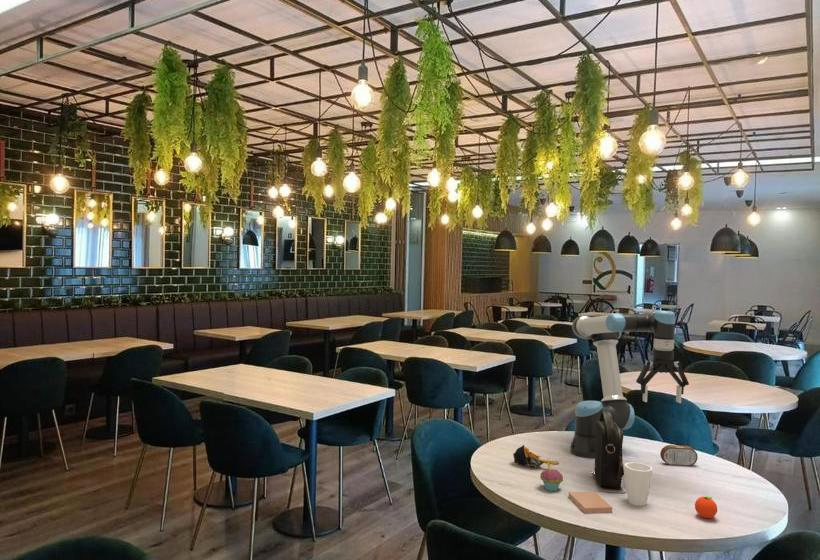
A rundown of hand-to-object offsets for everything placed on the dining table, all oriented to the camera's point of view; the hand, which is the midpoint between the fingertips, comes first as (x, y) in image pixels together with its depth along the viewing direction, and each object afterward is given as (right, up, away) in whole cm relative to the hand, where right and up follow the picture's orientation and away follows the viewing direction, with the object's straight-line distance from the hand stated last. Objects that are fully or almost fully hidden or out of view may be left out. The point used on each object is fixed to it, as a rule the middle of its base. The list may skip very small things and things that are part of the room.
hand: (661, 401), depth 230 cm
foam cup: (-19, -32, -22) cm, 43 cm away
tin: (+16, -32, +19) cm, 41 cm away
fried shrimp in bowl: (-49, -31, +12) cm, 59 cm away
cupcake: (-47, -31, -11) cm, 58 cm away
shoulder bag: (-23, -32, -3) cm, 39 cm away
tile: (-32, -31, -25) cm, 51 cm away
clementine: (+1, -33, -33) cm, 47 cm away
